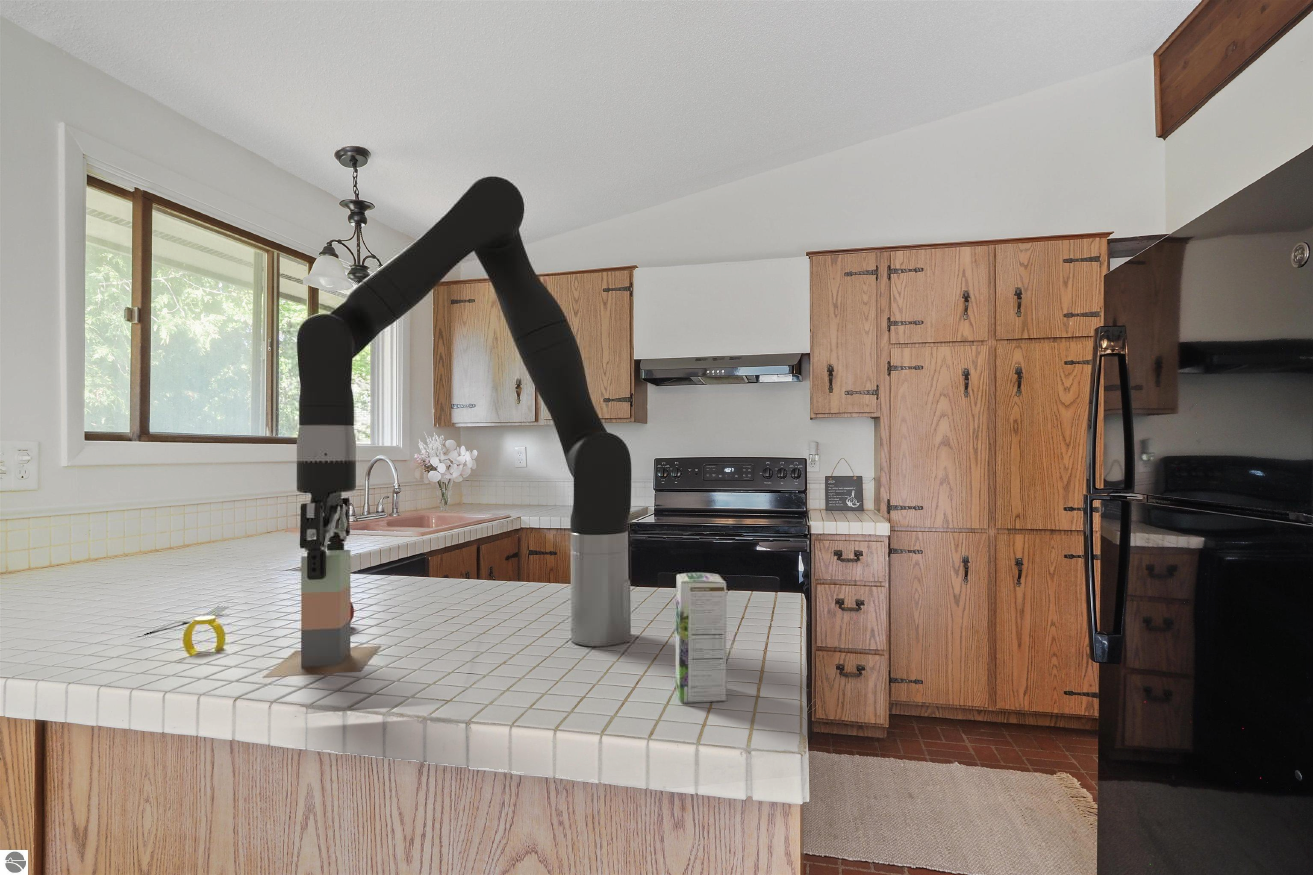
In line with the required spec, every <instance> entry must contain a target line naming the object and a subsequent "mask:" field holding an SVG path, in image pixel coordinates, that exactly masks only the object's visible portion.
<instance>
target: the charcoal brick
mask: <svg viewBox="0 0 1313 875" xmlns="http://www.w3.org/2000/svg"><path fill="white" fill-rule="evenodd" d="M300 634H301V635H300V645H301V646H300V650H301V667H311V666H328V665H341V663H342V662H343V661H344V660H345V659H346V658H347V657H348V656H349V655H350V647H351V623H350V620H349V621H348V622H347V623H346V624H345V625H343V626H342V627H341V628H333V629H314V630H301V629H300Z"/></svg>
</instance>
